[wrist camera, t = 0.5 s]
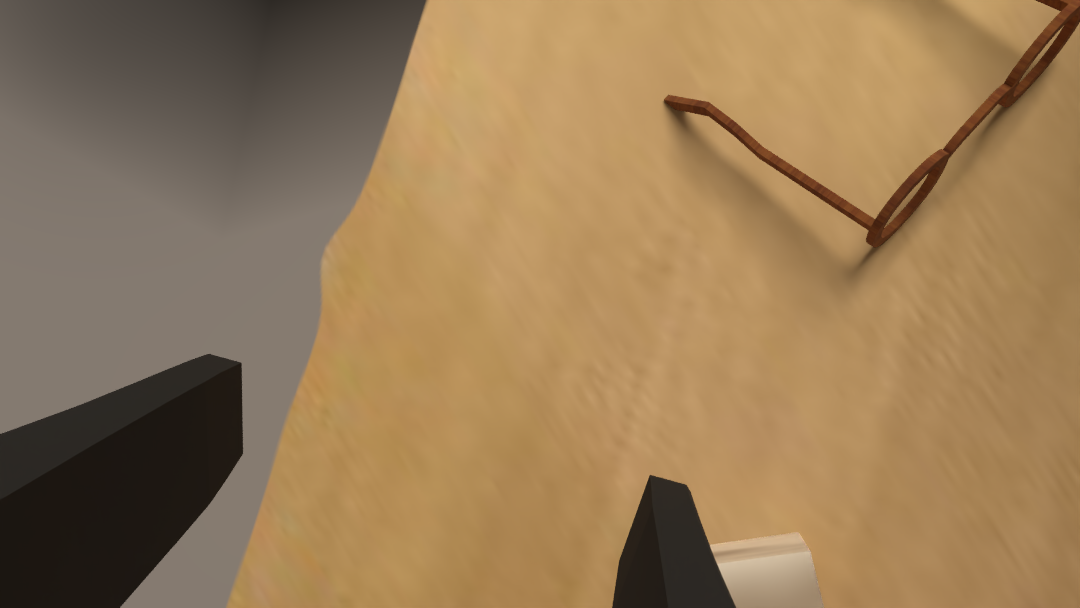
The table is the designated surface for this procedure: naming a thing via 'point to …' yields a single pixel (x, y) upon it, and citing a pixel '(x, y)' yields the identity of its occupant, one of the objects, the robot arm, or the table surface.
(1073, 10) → the glasses
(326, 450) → the table surface
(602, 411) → the table surface
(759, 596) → the block
